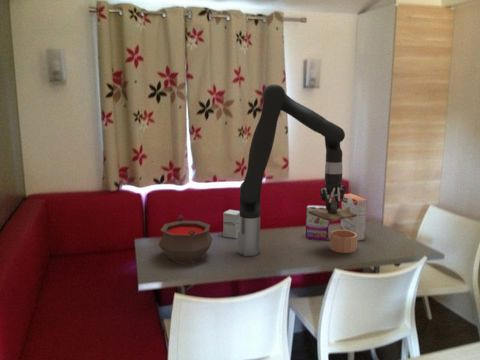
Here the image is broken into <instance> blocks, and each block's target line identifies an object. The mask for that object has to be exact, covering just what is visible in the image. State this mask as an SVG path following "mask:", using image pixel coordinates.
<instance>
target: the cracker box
mask: <svg viewBox="0 0 480 360" xmlns="http://www.w3.org/2000/svg"><path fill="white" fill-rule="evenodd" d="M367 207H368V199H366V198H363V197H361V196H359V195H356V194H353V193H345V194H344V197H343V199H341V209H343V210H346V211H349V212H352V213H355V214H357V216H356V217H351V218H346V219H341V220H340V229H339V230H348V231H352V232H355V233H356V234H357V235H358V236H357V242H360V241H365V238H366V224H367V223H366V222H367V221H366V220H367V209H368V208H367Z"/></svg>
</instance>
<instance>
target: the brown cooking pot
mask: <svg viewBox="0 0 480 360" xmlns="http://www.w3.org/2000/svg"><path fill="white" fill-rule="evenodd" d="M210 227H211V224H209V223H206V222H202V221H200V220H184V217H183V216H182V215H179V216H178V217H177V221H173V222H168V223H165V224H163V226H162V227H161V229H160V231H161V233H162V235H161V238H160V240H159V243H158V247H159V248H160V249H161V250H162V251H163V252H164V254H165V256H166V257H168V258H169V260H170V259H171V261H172V260H173V262H174V261H175V262H174V263H176V262H177V263H176V264H192V262H193V263H196V262H199V261H201V260H202V259H203V257H204V256H205V255H206V254H207V251H208V250H209V249H210V247H211V246H212V243H213V242H212V241H213V237H212V235H211V233H210Z"/></svg>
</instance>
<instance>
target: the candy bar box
mask: <svg viewBox="0 0 480 360" xmlns="http://www.w3.org/2000/svg"><path fill="white" fill-rule="evenodd" d="M323 208H326V205H314V204H308V205H307V206H306V209H305V210H306V211H305V213H306V215H305V220H306V221H305V239H309V240H310V239H311V240H318V241H328V240H329V239H330V221H328V220H325V219H322V218H320V217H317V216H314V215H312V214H309V213H308V211H312V210H318V209H323Z"/></svg>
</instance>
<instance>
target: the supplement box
mask: <svg viewBox="0 0 480 360" xmlns="http://www.w3.org/2000/svg"><path fill="white" fill-rule="evenodd" d="M222 214H223V215H222V216H223V222H222V223H223V225H222V226H223V227H222V231H223V232H222V236H223V237H225V238H232V239H238V232H239V231H240V210H235V209H228V210H225V211H224V212H223V213H222Z"/></svg>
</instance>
